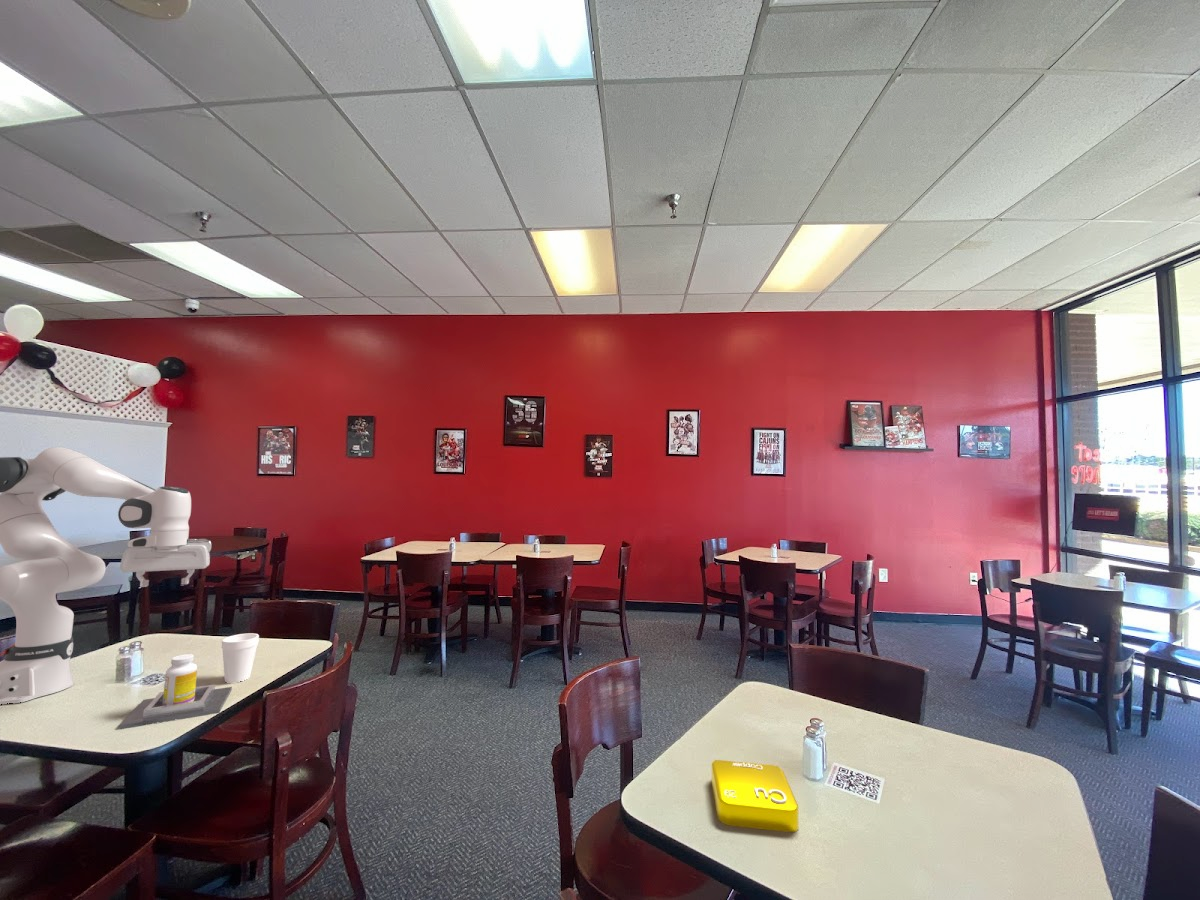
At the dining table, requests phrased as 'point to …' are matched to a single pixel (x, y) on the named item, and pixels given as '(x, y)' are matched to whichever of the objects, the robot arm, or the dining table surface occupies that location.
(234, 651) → the foam cup
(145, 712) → the grey tray
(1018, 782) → the dining table surface
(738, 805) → the element tile
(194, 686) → the supplement bottle
